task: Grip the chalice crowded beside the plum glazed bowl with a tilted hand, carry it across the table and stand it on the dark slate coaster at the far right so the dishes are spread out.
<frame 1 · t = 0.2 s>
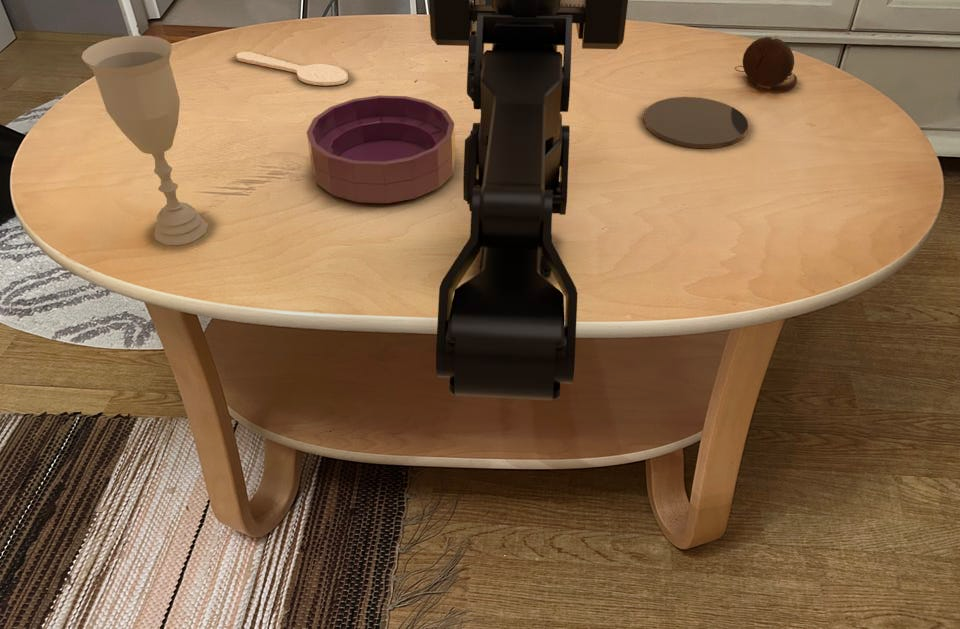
slate coaster: (694, 123, 94), on the table
spoon: (290, 70, 107), on the table
plum bowl: (384, 169, 87), on the table
chalice: (181, 231, 78), on the table
compass: (761, 84, 103), on the table
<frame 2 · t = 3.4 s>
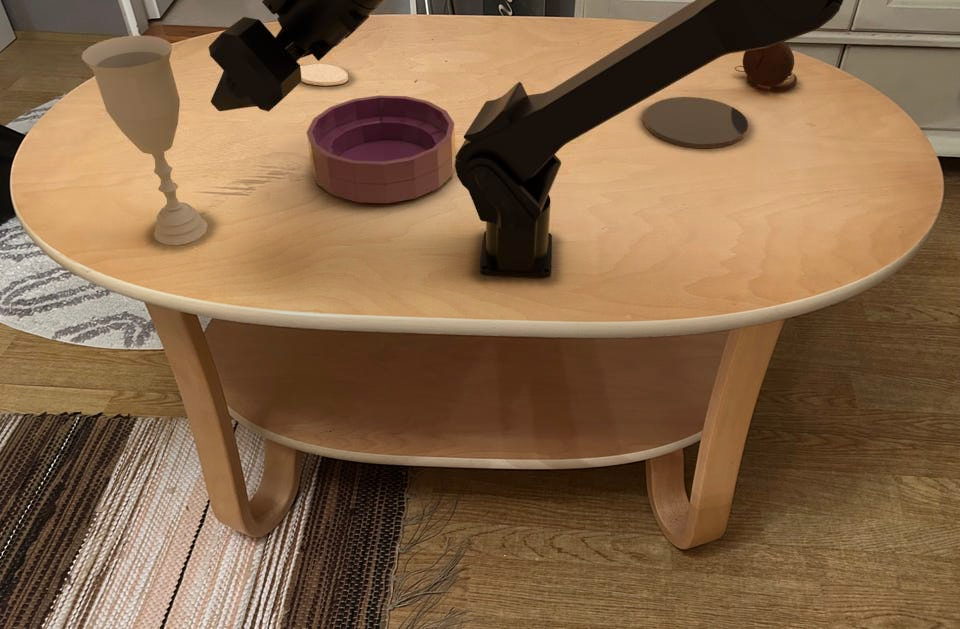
hand: (242, 83, 71), 14 cm above the table, tool tilted 50°, fingers open, 9 cm apart
nothing on the table moved.
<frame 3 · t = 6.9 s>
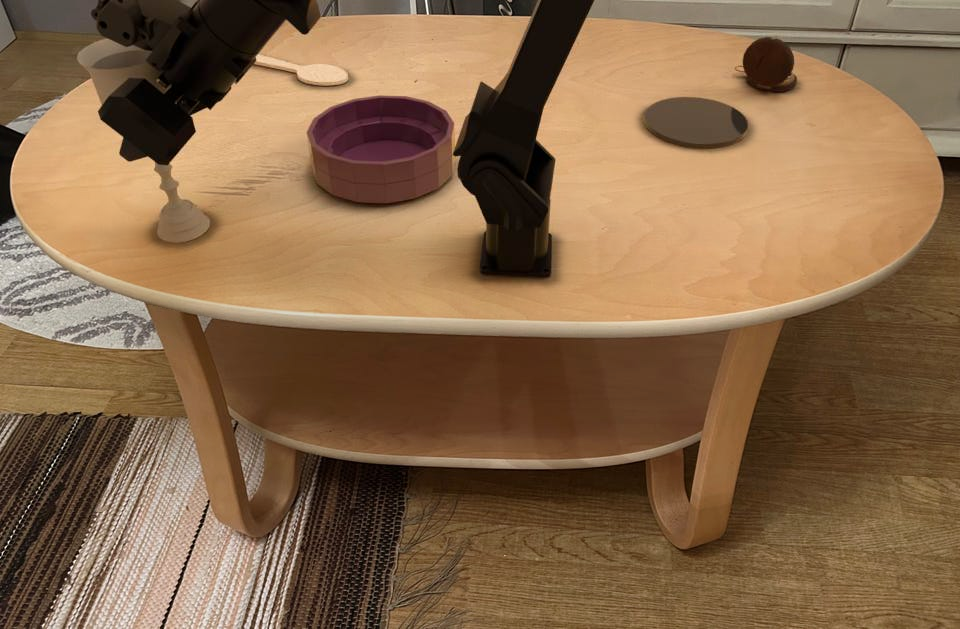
hand: (139, 141, 72), 10 cm above the table, tool tilted 45°, fingers closed on chalice, 5 cm apart
chalice: (184, 228, 78), on the table, touching gripper
everything else where it was.
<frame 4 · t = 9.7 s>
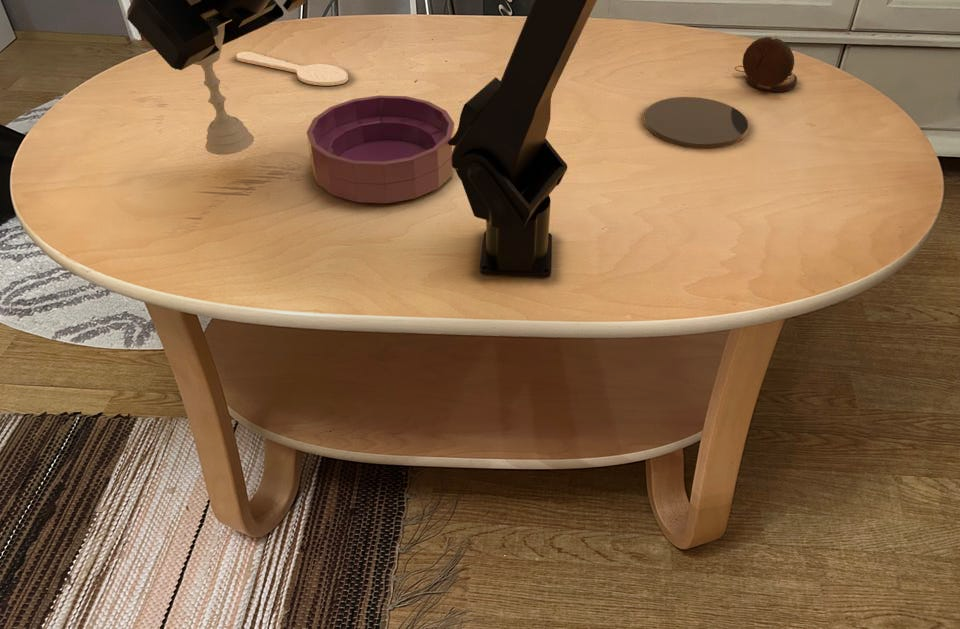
hand: (193, 53, 78), 13 cm above the table, tool tilted 45°, fingers closed on chalice, 5 cm apart
chalice: (230, 144, 84), point 4 cm above the table, touching gripper
everything else where it was.
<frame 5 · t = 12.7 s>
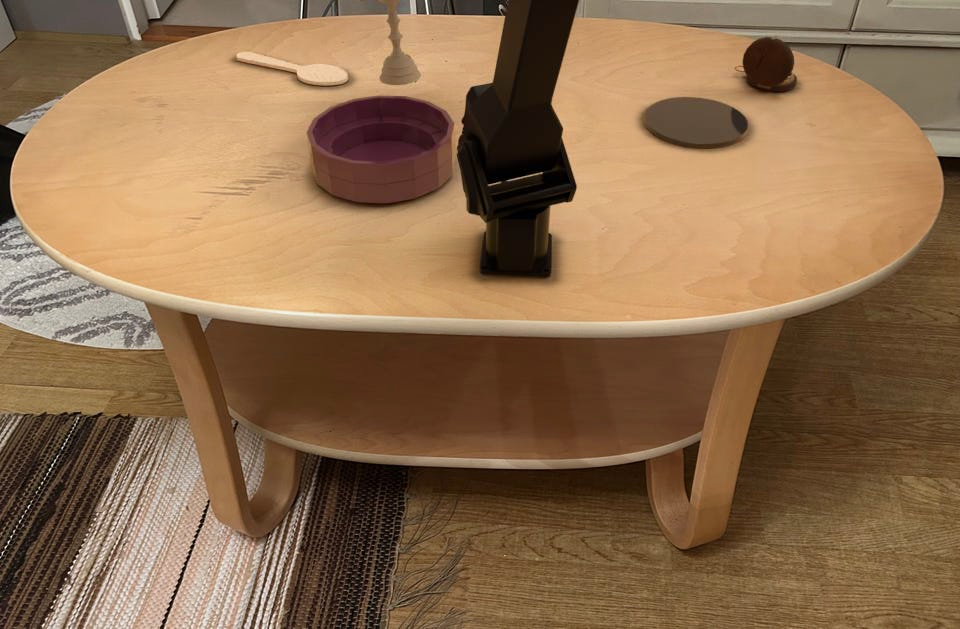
chalice: (400, 78, 96), point 4 cm above the table, touching gripper
everything else where it was.
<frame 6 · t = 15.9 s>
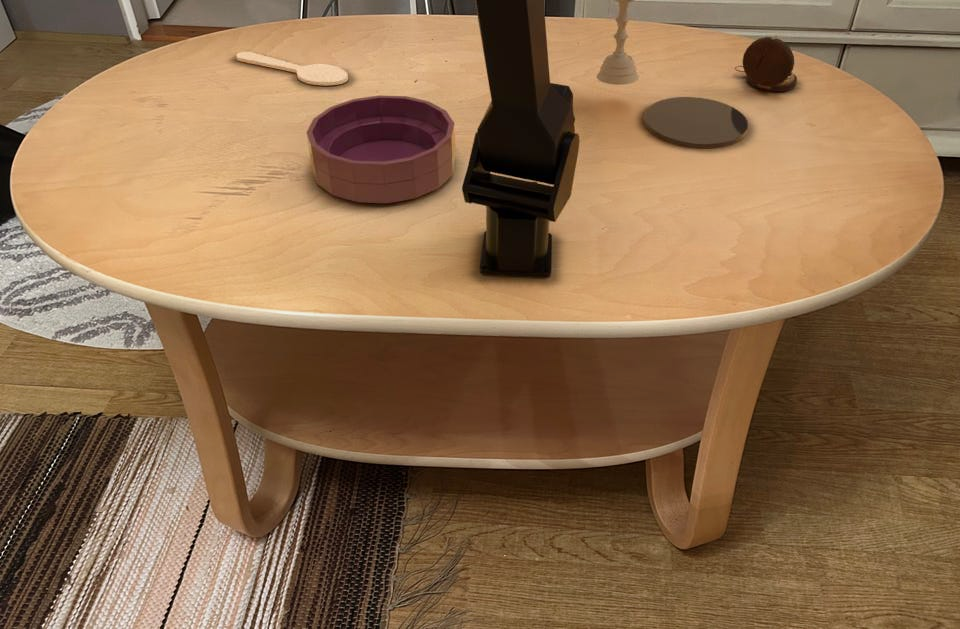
chalice: (617, 78, 96), point 4 cm above the table, touching gripper
everything else where it was.
when the fingers open (10 cm above the table, at t = 18.6 s): chalice stays where it is, resting on slate coaster.
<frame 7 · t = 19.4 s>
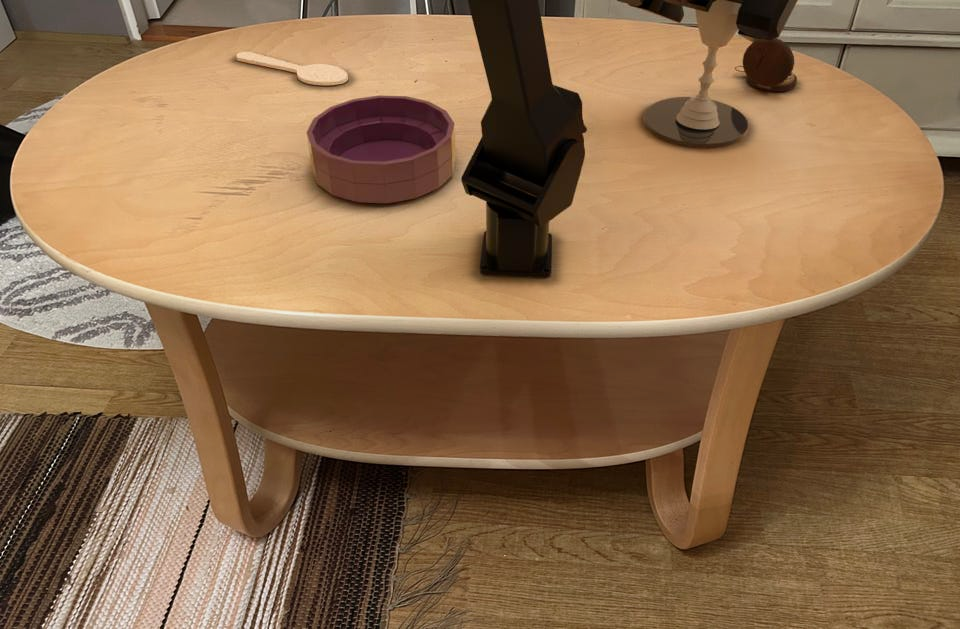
hand: (717, 28, 88), 11 cm above the table, tool tilted 45°, fingers open, 9 cm apart
chalice: (697, 121, 94), point 1 cm above the table, touching slate coaster
everything else where it was.
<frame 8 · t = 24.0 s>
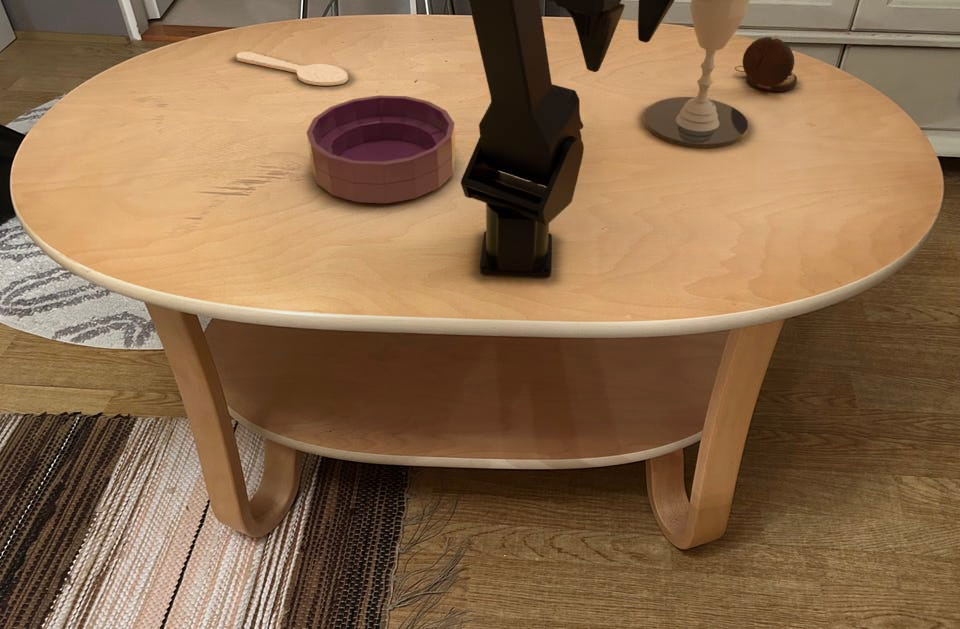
hand: (619, 55, 77), 13 cm above the table, tool pointing down, fingers open, 9 cm apart
at the end: chalice 0.6 cm off-centre on the slate coaster, point 0.4 cm above the slate coaster's base; chalice tilted 0° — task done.
